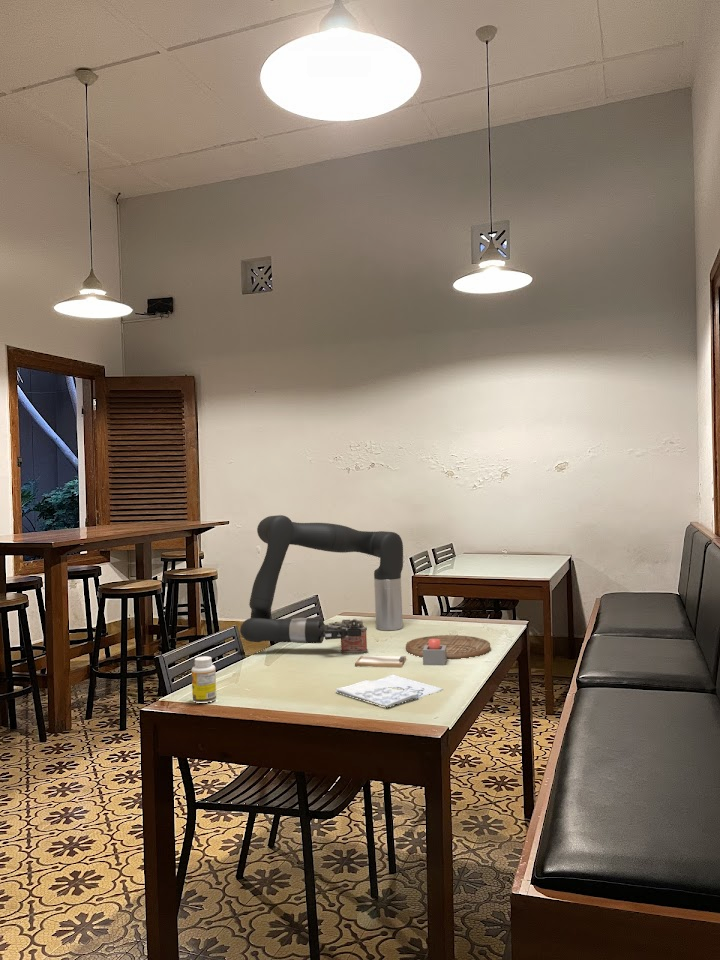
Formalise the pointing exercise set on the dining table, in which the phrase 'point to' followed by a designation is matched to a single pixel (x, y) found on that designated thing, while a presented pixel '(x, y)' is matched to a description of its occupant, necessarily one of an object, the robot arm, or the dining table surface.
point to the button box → (434, 655)
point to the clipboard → (381, 661)
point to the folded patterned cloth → (388, 690)
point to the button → (434, 643)
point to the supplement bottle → (203, 680)
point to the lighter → (354, 639)
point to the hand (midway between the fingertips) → (362, 630)
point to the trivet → (452, 646)
